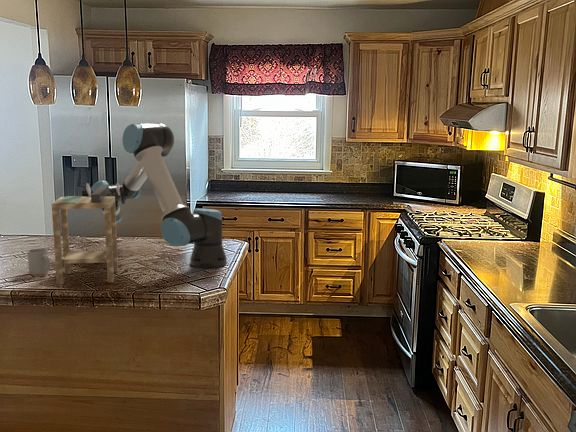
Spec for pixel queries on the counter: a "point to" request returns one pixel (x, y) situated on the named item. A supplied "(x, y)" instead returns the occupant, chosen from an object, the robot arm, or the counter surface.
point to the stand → (84, 256)
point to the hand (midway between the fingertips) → (102, 186)
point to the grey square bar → (99, 194)
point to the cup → (38, 261)
